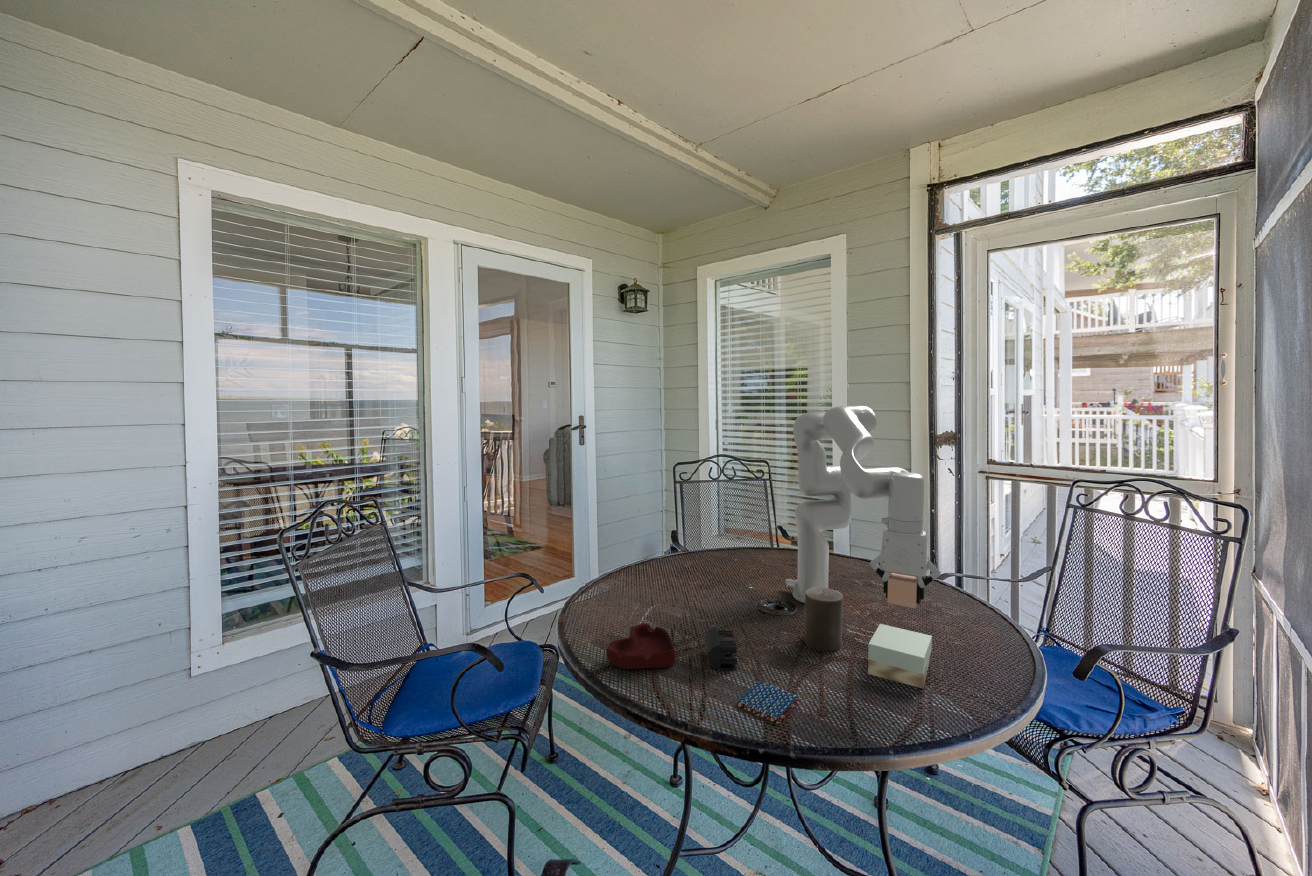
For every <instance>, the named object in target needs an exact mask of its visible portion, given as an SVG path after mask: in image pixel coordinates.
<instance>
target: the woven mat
mask: <svg viewBox="0 0 1312 876" xmlns="http://www.w3.org/2000/svg"><path fill="white" fill-rule="evenodd" d="M740 696H741V697H740V698H737V702H736V704H737V707H739V708H743V707H744V708H743V709H744V710H747V711H748V712H751V711H752V713H753V714H756V716H757V717H759V716H760V717H762V718H763V719H764V718H765V719H766V720H770V722H772V723H774V722H775V721H776V722H775V724H778V725H779V724H780V723H781V722H782V721H783V720H785V719H786V717H787V716H789V714H790V712H791V711H792V710H793V709H795V708H796V706H797V705H799V703H800V699H799V696H798V695H797V694H793V693H791V692H788V691H787V690H782V689H781V688H778V687H776V686H775V685H774V686H773V685H770V684H769V683H768V684H767V683H766V682H763V681H758V682H756V683H755V685H752V688H749V689H748V691H745V692H744V694H741V695H740Z"/></svg>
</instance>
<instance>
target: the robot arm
mask: <svg viewBox="0 0 1312 876" xmlns="http://www.w3.org/2000/svg"><path fill="white" fill-rule="evenodd" d="M877 421H878V420H877V417H876V413H875V412H874V411H873V410H872V408H870V407H868V406H866V405H846V406H845V405H843V406H835V407H831V408H830V409H828V410H826V411H816V412H814V411H812V412H808V413H807V412H806V413H803V414H800V415H798V416H797V418H796V419H795V421H794V423H793V428H792V429H793V430H792V432H793V433H792V434H793V438H794V439H793V440H794V442H795V446H796V449H797V456H798V457H797V458H798V459H797V460H798V465H797V466H798V485H799V486H798V487H799V491H800V493H801V494H802V495H803V496H805V497H825V496H826V497H827V496H830V499H817V500H815V499H814V500H806V501H803V502H801V503H799V504H798V505H797V506H796V508H795V511H794V518H795V524H796V531H797V579H795V580H793V579H790V578H786V579H785V582H784V583H785V585H786V588H792V589H793V590H792V597H793V598H794V599H795V600H796V601H798V602H800V603H803V604H805V592H806V590H808V589H810V588H818V587H819V588H820V587H821V588H829V562H830V557H829V556H830V552H829V551H830V547H829V546H830V545H829V542H828V540H827V538H826V537H825V536H824V534H823V531H829V530H830V531H831V530H832V531H833V530H840V529H841V530H842V529H845V528H847V527H848V526H849V525H850V524H851V521H852V515H853V514H852V494H853V495H854V496H856V497H857V498H859V499H861V500H874V499H888V507H887V508H888V509H887V510H888V511H887V513H888V514H887V516H886V517H882V518H881V524H884V525H886V528H884V530H883V532H882V537H881V546H880V554H878V555H876V557H874V558H873V559H872V560H871V561H870V562H869V565H870V567H871V568H872V569H873V570H874V571H875V572H876V574H878V576H879V578H881V580H882V582H883V593H884V594H885V599H888V578H889V576H890V574H891V573H895V574H901V575H908V576H914V577H916V579H917V582H918V586H917V599H916V603H917V605H920V604H921V601H924V599H925V587H926V586H928V585H930V584H931V583H932V582H933V581H934V580H936V579H938V578H940V577H941V574H942V572H941V571H940V570H939V568H938V567H937V566H936V565H935V564H934V563H933V561H931V560H930V559H929V556H930V555H929V542H928V537H927V533H926V531H924V511H925V510H924V509H925V507H924V505H925V478H924V477H923V475H921V474H920V473H916V472H909V471H908V470H907V469H904V468H903V467H898V466H890V467H887V466H886V467H871V468H870V467H869V468H864V467H863V466H861V465H860V464H859V462H858V461H860V460H862V459H863V458H865V457H866V456H867V455H869V454H870V453H871V451H872V449H873V448H874V444H875V443H874V442H875V441H874V438H873V436H872V435H871V434H872V433H874V431H875V430H876V428H877V423H878V422H877ZM819 440H833V441H834V443H836V445H837V446H838V448H839V449H840V451H841V452H842V454H841V456H840V460H839V464H838V465H837V464H834V465H831V464H830V465H827V453H826V449H825V447H824V446H823V444H822V443H821V442H820V441H819ZM928 570H929V571H930V572H931V573H930V574H929V575H927V574H928ZM926 575H927V576H926Z"/></svg>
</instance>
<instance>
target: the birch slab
mask: <svg viewBox="0 0 1312 876" xmlns="http://www.w3.org/2000/svg"><path fill="white" fill-rule="evenodd" d="M930 657H931V656H930ZM930 657H929V660H928V663H927V666H926V668H925V671H924V674H920V673H916V672H912V671H909V670H905V669H901V668H898V667H894V666H890V665H887V664H883V663H879V662H876V661H872V660H868V661H867V663H868V665H867V666H868V667H867V674H868V675H872V676H874V677H879V678H882V679H887V680H890V681H894V682H897V683H901V684H905V685H909V686H913V687H916V688H920V689H924V688H925V683H926V679H927V675H928V672H927V671H929V668H928V667H930Z"/></svg>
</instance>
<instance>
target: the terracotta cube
mask: <svg viewBox="0 0 1312 876" xmlns="http://www.w3.org/2000/svg"><path fill="white" fill-rule="evenodd" d="M917 586H918V582H917V579H916V577H914V576H908V575H901V574H895V573H891V574H890V576H889V578H888V598H887V604H891V605H895V606H901V607H907V608H912V609H916V608H917V605H918V604H917V603H916V599H917Z"/></svg>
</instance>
